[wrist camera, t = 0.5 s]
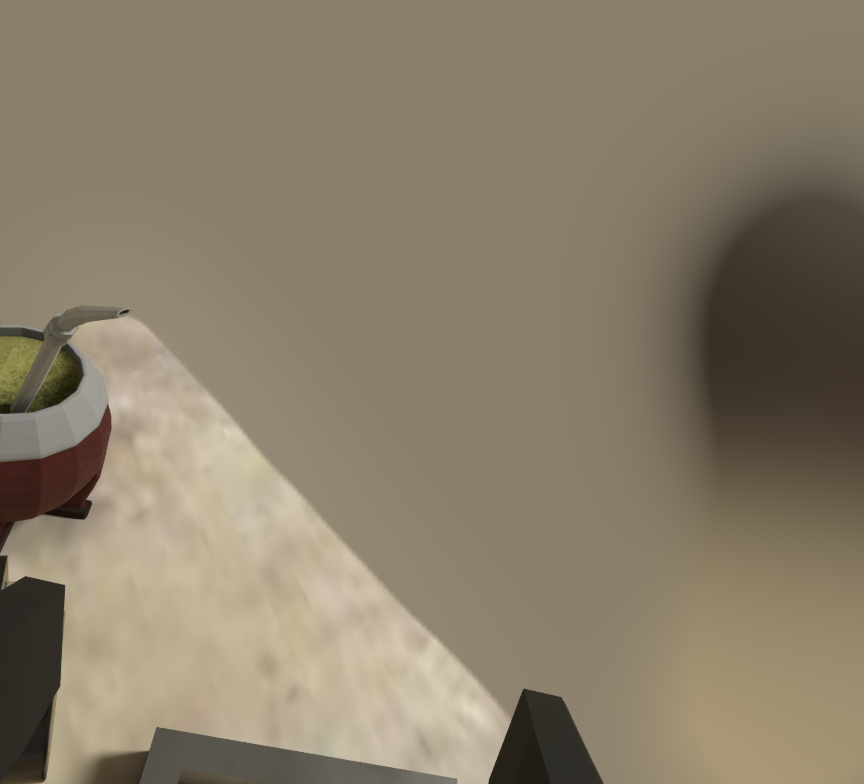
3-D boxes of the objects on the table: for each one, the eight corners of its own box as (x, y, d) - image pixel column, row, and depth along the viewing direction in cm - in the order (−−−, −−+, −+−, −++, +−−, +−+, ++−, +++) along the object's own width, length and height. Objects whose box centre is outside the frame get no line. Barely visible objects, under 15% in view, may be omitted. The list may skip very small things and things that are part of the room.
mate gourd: (-42, 428, 33) (-64, 123, 24) (137, 461, 35) (179, 195, 26) (-125, 564, 27) (-195, 235, 18) (93, 593, 30) (128, 314, 20)
